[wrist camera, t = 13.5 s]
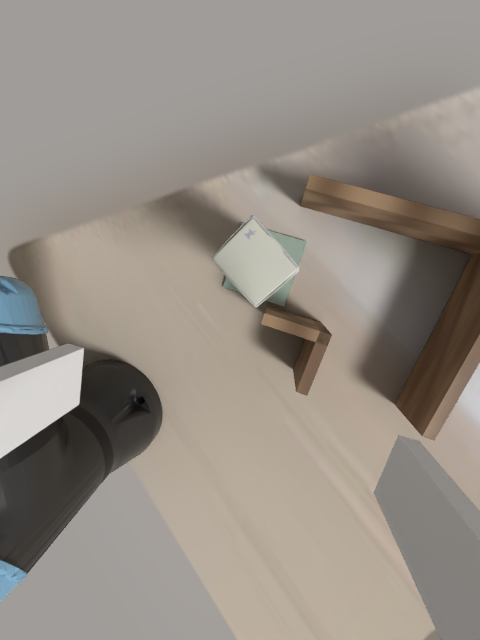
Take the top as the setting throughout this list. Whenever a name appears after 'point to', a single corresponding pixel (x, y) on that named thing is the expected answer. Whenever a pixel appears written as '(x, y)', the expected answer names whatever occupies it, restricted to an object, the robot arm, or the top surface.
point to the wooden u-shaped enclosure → (451, 328)
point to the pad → (295, 251)
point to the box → (255, 262)
